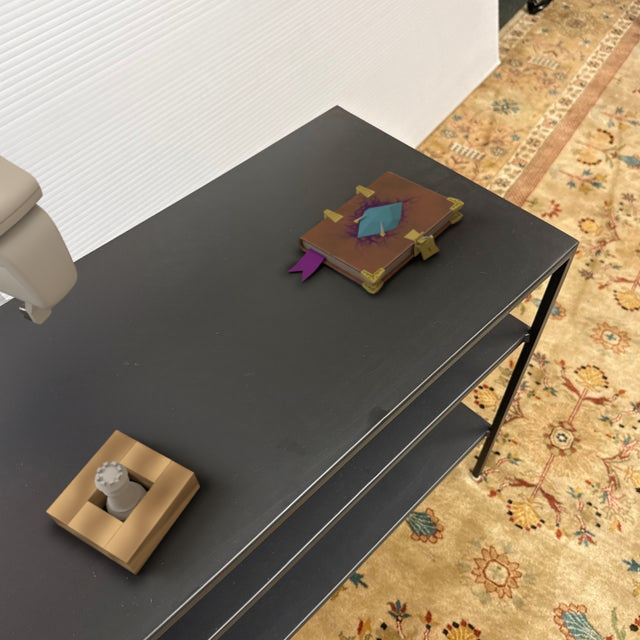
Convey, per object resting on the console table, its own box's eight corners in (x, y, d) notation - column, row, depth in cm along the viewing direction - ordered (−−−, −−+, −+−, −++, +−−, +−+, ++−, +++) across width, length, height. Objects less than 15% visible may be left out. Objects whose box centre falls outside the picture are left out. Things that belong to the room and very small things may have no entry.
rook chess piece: (159, 498, 70) (140, 464, 64) (132, 533, 68) (109, 501, 62) (128, 480, 72) (106, 445, 66) (100, 513, 70) (75, 480, 63)
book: (276, 270, 93) (271, 244, 89) (385, 186, 104) (385, 159, 100) (362, 323, 85) (360, 297, 81) (471, 226, 96) (474, 199, 92)
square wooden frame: (57, 524, 69) (45, 511, 66) (125, 444, 75) (116, 429, 72) (136, 575, 65) (126, 563, 63) (200, 486, 71) (194, 472, 68)
